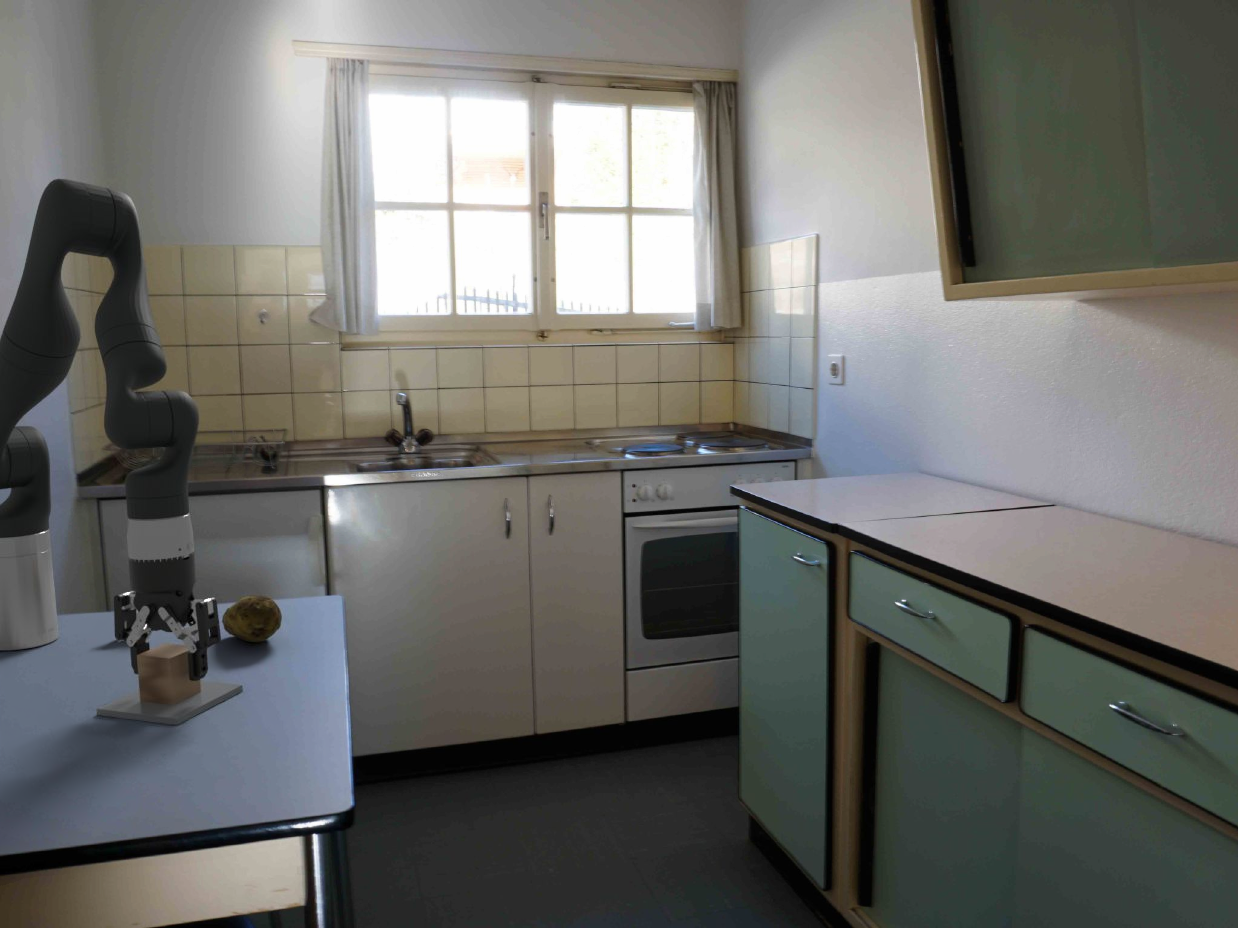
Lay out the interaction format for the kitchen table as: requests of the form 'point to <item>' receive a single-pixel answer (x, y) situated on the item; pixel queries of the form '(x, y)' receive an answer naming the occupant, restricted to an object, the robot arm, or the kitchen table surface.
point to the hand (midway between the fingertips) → (170, 675)
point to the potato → (253, 618)
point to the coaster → (170, 713)
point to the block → (165, 675)
